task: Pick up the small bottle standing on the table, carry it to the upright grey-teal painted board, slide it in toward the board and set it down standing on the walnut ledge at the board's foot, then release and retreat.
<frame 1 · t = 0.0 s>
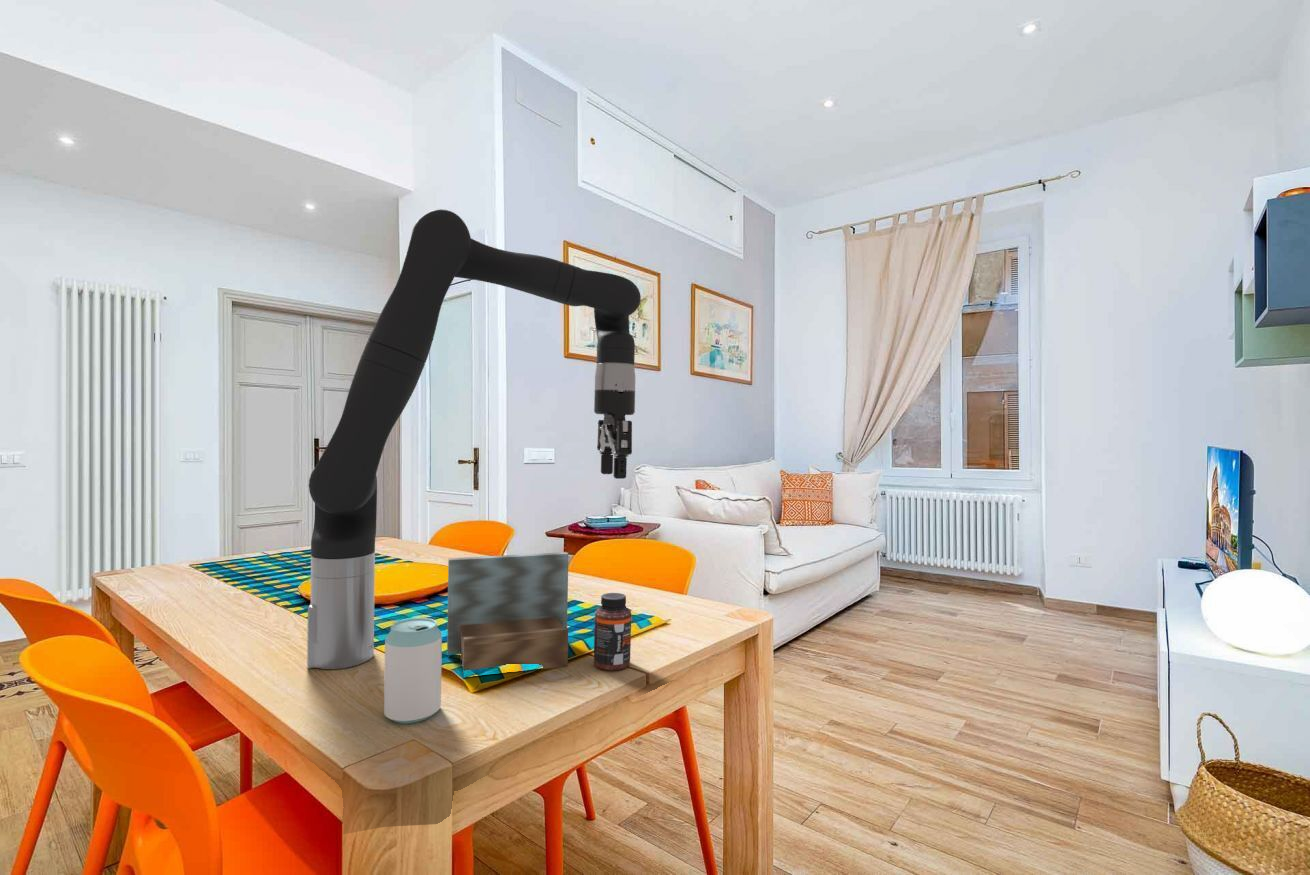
hand: (613, 476, 115), 29 cm above the table, tool pointing down, fingers open, 8 cm apart
wall board: (508, 648, 107), on the table
can: (412, 714, 83), on the table
supplement bottle: (611, 666, 101), on the table
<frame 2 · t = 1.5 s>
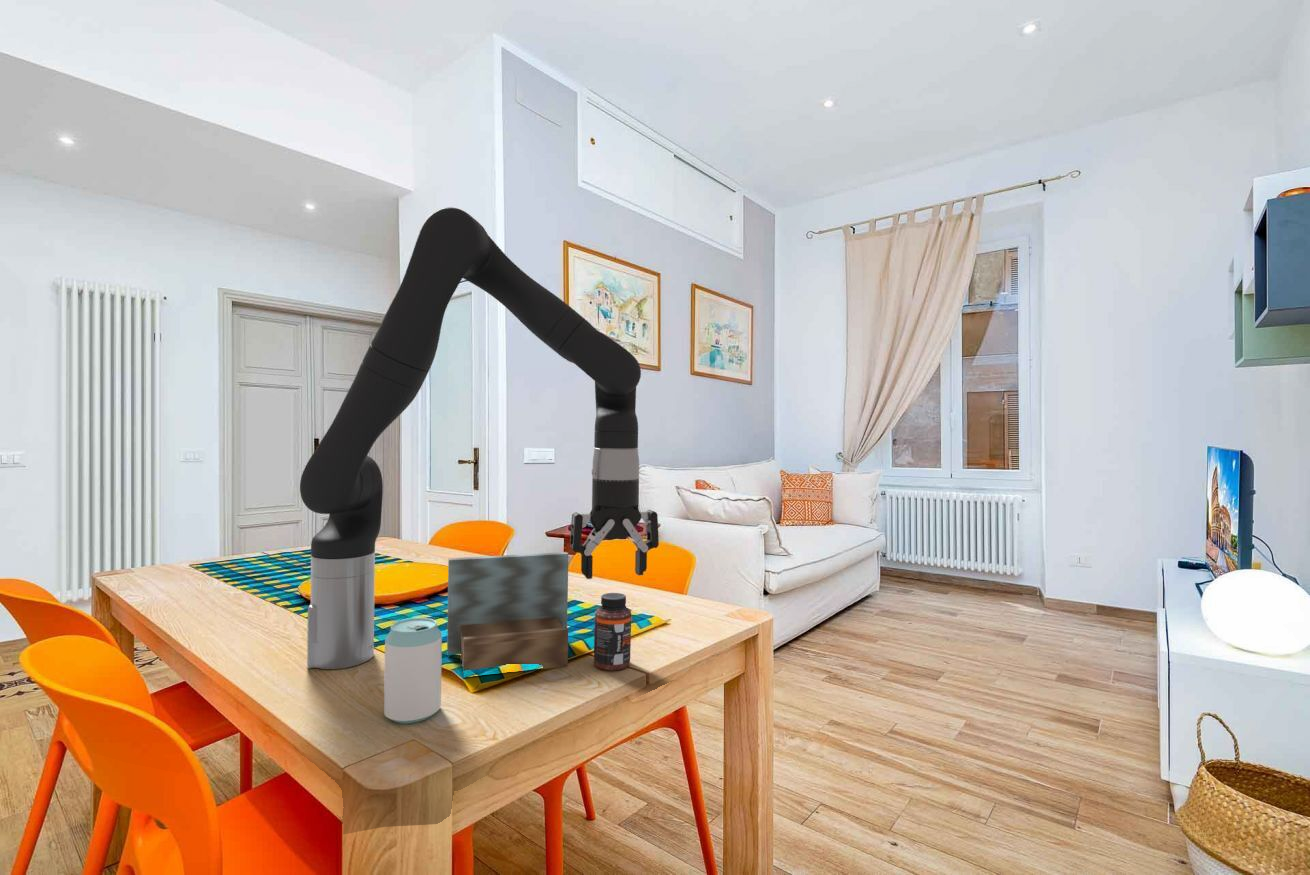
hand: (614, 576, 100), 15 cm above the table, tool pointing down, fingers open, 8 cm apart
nothing on the table moved.
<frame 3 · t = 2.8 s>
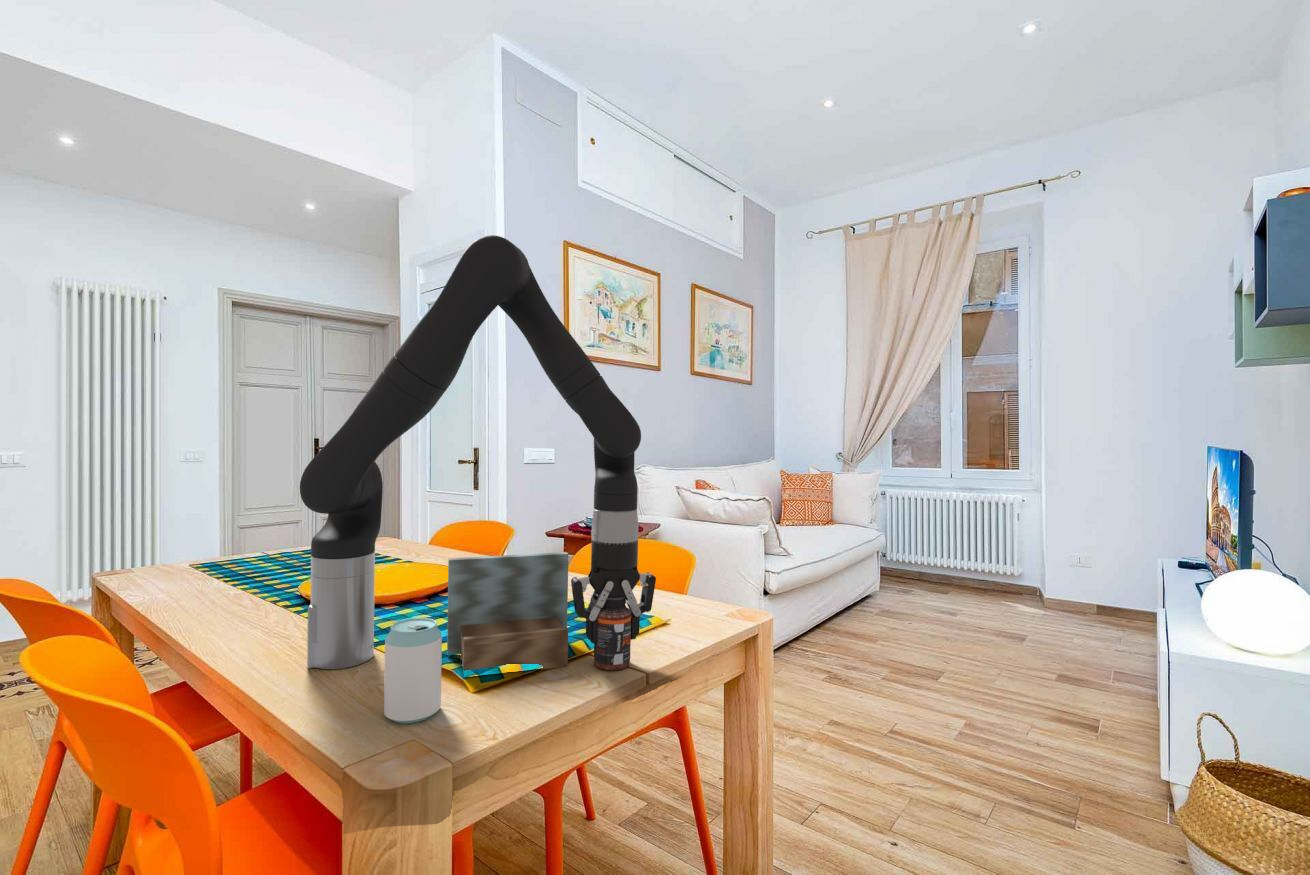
hand: (612, 639, 101), 4 cm above the table, tool pointing down, fingers closed on supplement bottle, 6 cm apart
supplement bottle: (611, 666, 101), on the table, touching gripper
everything else where it was.
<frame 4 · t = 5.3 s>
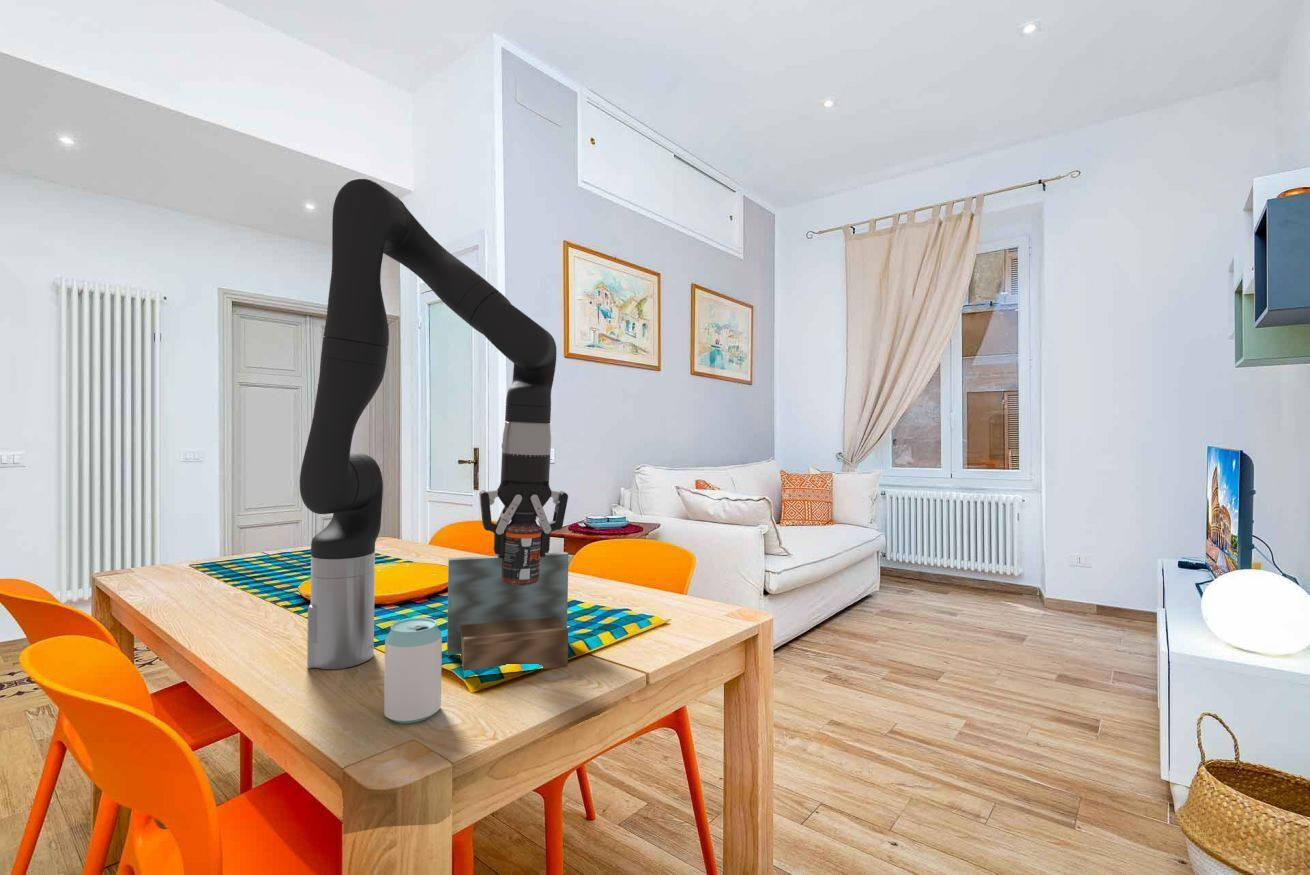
hand: (521, 555, 99), 18 cm above the table, tool pointing down, fingers closed on supplement bottle, 6 cm apart
supplement bottle: (520, 582, 99), point 13 cm above the table, touching gripper
everything else where it was.
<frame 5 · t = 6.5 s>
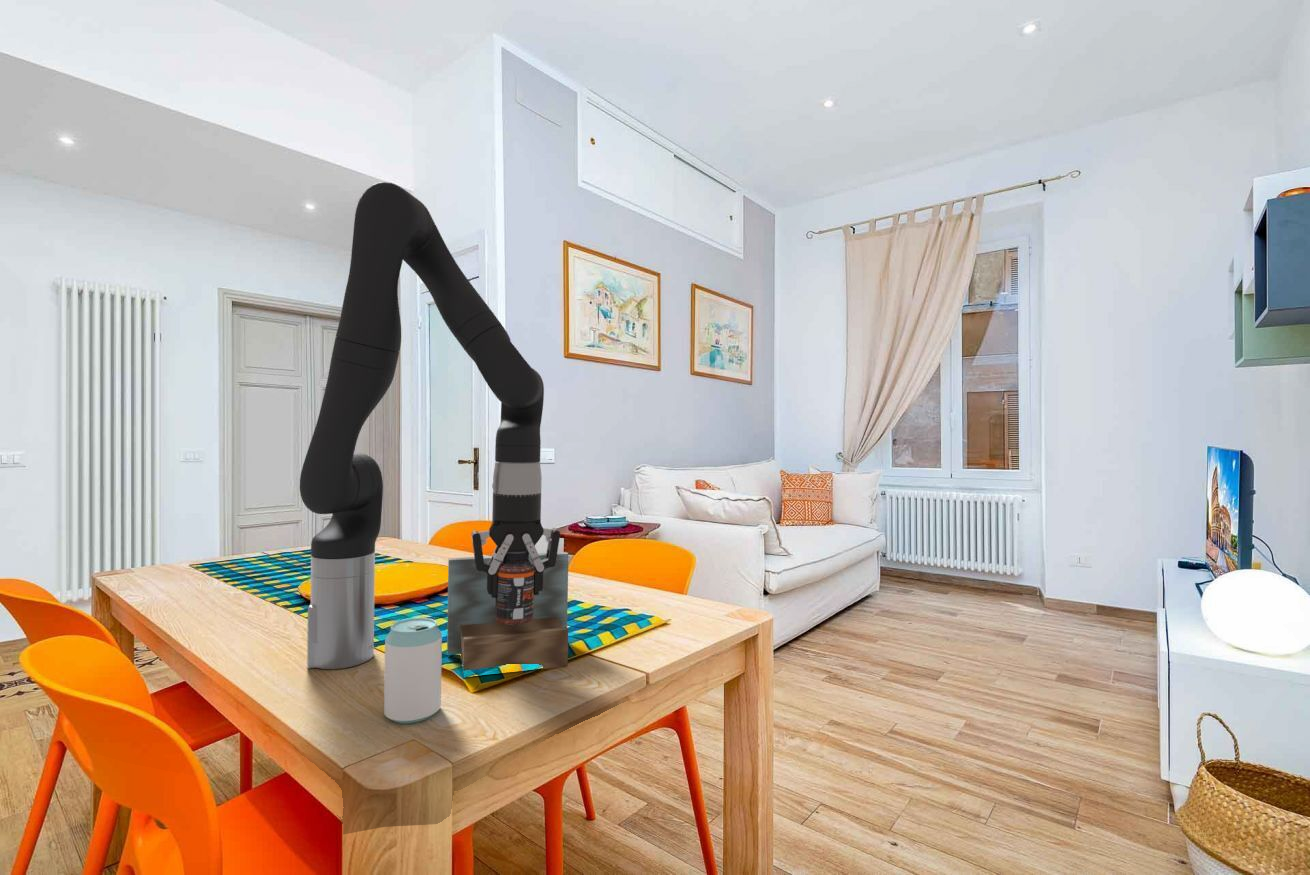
hand: (515, 594, 99), 11 cm above the table, tool pointing down, fingers closed on supplement bottle, 6 cm apart
supplement bottle: (514, 621, 99), point 7 cm above the table, touching gripper
everything else where it was.
when the fingers open (10 cm above the table, at t = 7.7 s): supplement bottle stays where it is, resting on wall board.
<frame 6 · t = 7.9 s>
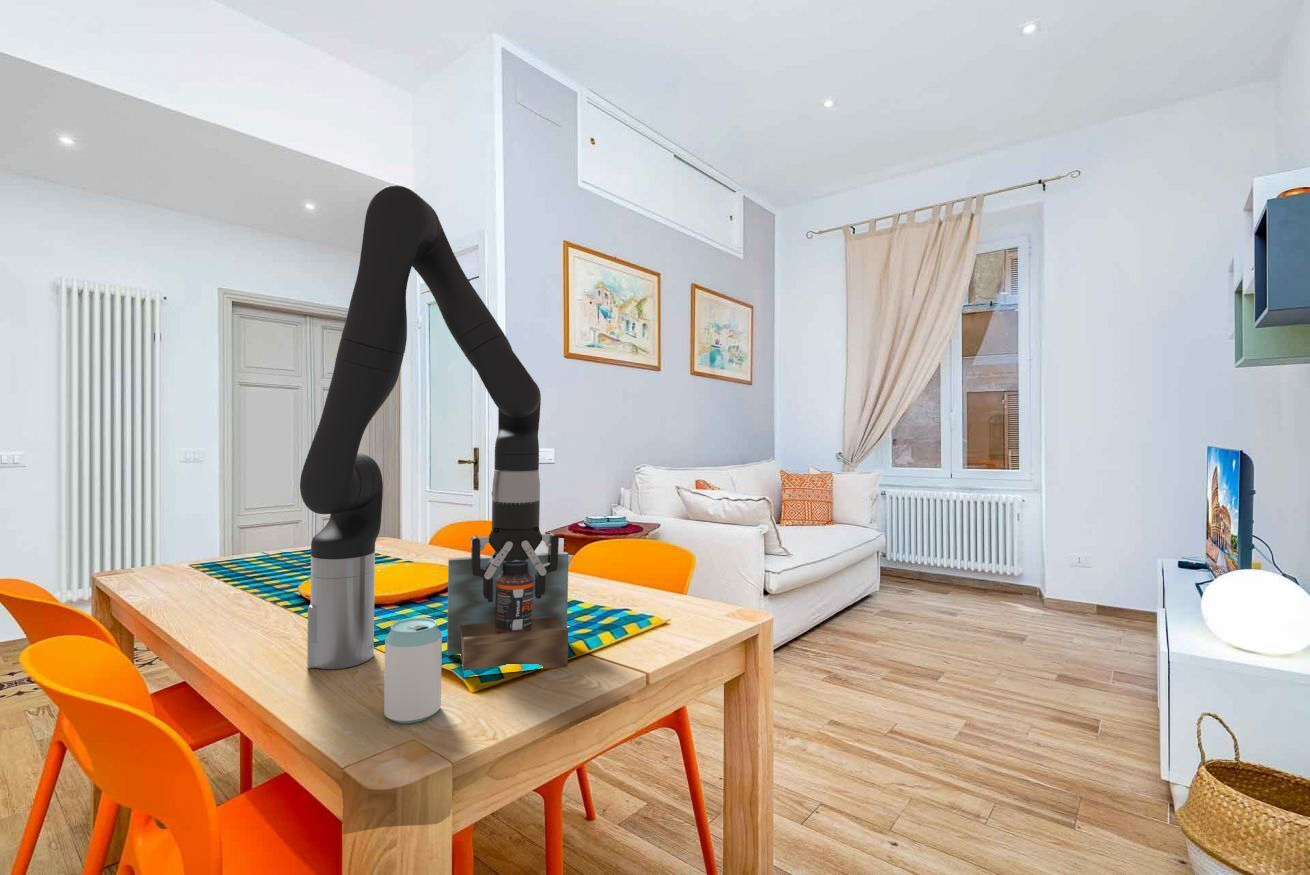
hand: (514, 598, 101), 10 cm above the table, tool pointing down, fingers open, 7 cm apart
supplement bottle: (513, 632, 101), point 5 cm above the table, touching wall board
everything else where it was.
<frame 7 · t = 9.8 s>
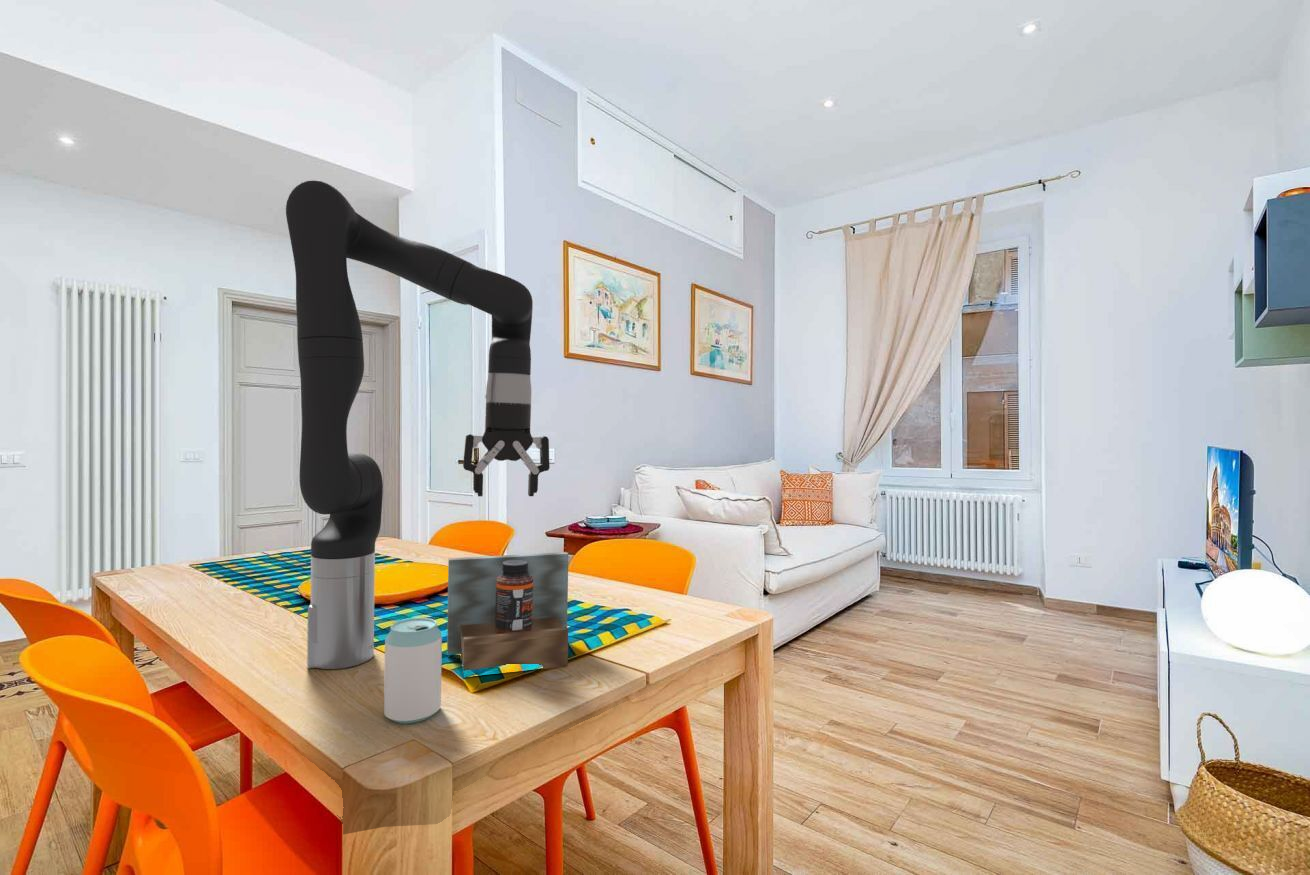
hand: (505, 495, 106), 26 cm above the table, tool pointing down, fingers open, 8 cm apart
nothing on the table moved.
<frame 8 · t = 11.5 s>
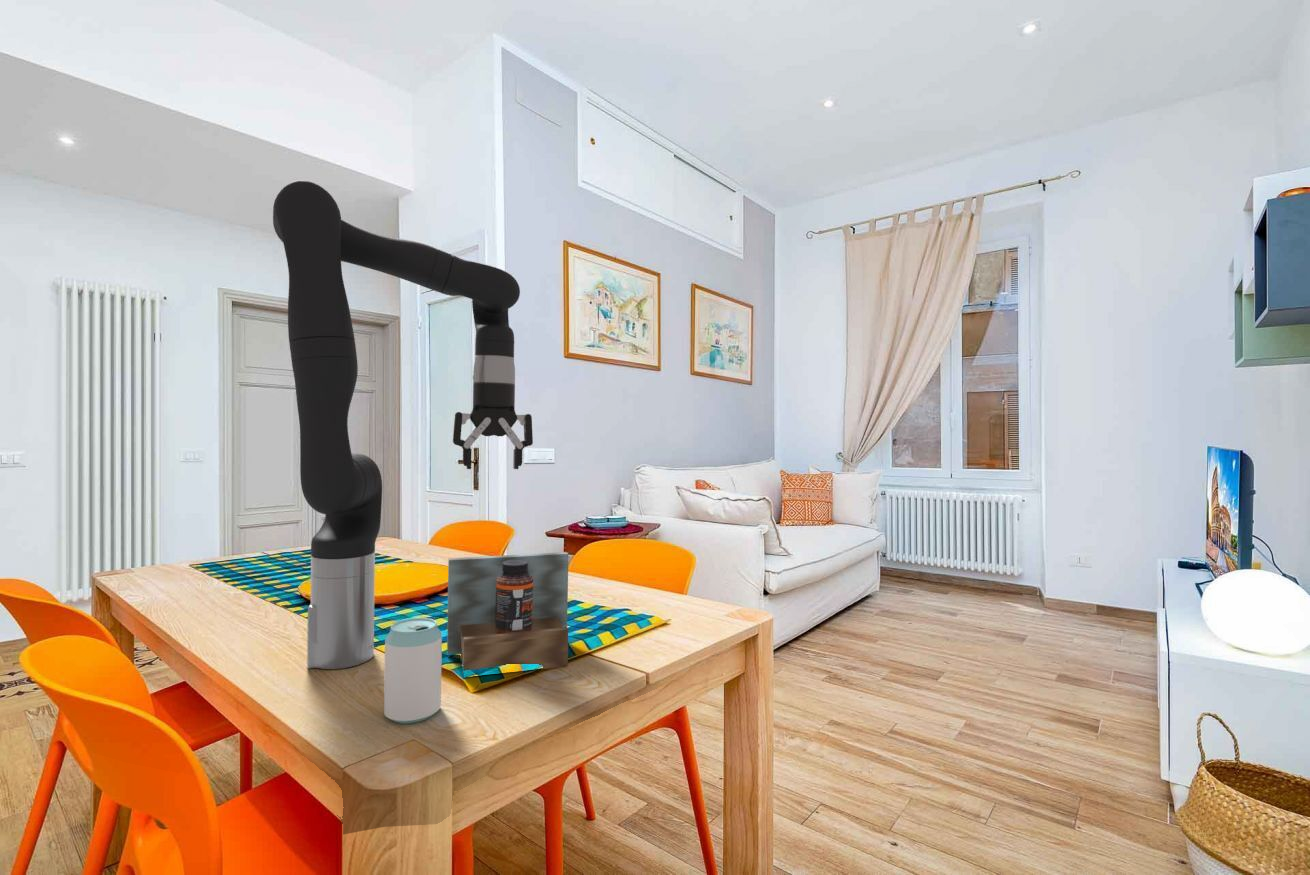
hand: (492, 468, 116), 30 cm above the table, tool pointing down, fingers open, 8 cm apart
nothing on the table moved.
at the end: supplement bottle inside the target area (0.6 cm from its centre), point 4.8 cm above the table; supplement bottle tilted 0°; the gripper is holding nothing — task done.
